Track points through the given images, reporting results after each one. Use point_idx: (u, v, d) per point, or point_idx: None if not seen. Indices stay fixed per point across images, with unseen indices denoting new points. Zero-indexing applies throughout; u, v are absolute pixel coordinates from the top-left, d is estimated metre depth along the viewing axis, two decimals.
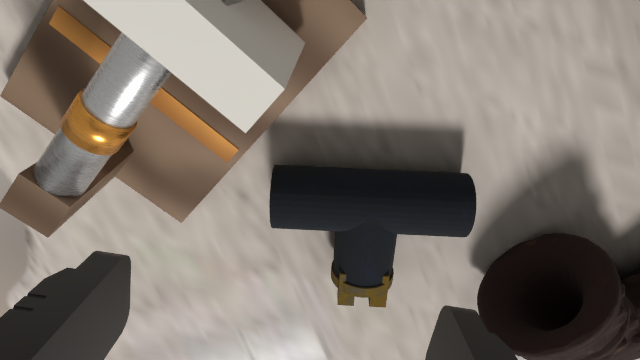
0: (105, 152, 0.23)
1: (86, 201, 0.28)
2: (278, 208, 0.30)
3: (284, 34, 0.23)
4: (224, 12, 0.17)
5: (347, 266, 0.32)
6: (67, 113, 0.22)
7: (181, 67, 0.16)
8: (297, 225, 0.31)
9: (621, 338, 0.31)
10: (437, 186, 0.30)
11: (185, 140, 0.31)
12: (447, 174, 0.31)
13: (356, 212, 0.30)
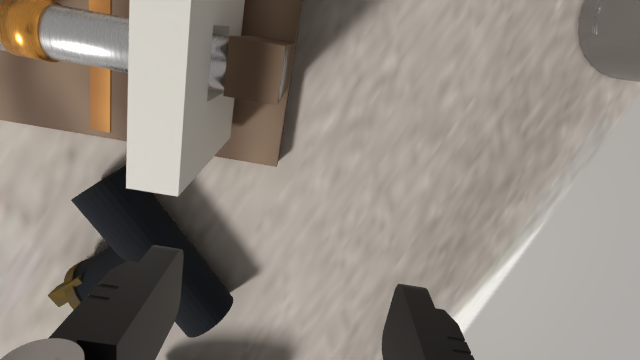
0: (12, 51, 0.22)
1: None
2: (93, 196, 0.30)
3: (222, 129, 0.28)
4: (200, 110, 0.21)
5: (90, 278, 0.33)
6: (20, 1, 0.21)
7: (136, 119, 0.18)
8: (91, 219, 0.31)
9: None
10: (208, 290, 0.35)
11: (80, 83, 0.31)
12: (222, 288, 0.36)
13: (141, 255, 0.32)
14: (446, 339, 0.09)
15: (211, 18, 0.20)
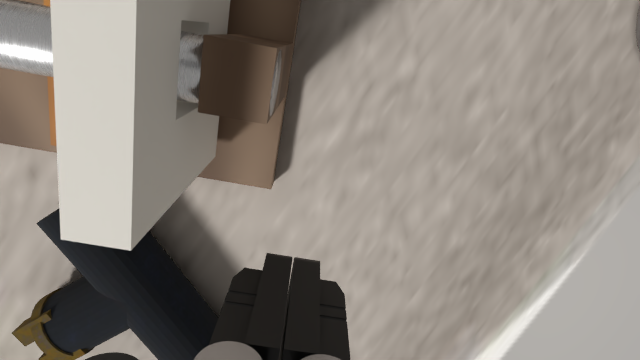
0: None
1: None
2: None
3: (203, 149, 0.23)
4: (164, 132, 0.16)
5: (60, 314, 0.28)
6: None
7: (69, 150, 0.13)
8: (61, 246, 0.26)
9: None
10: (200, 328, 0.29)
11: (37, 90, 0.26)
12: None
13: (120, 288, 0.27)
14: (317, 305, 0.09)
15: (177, 11, 0.15)
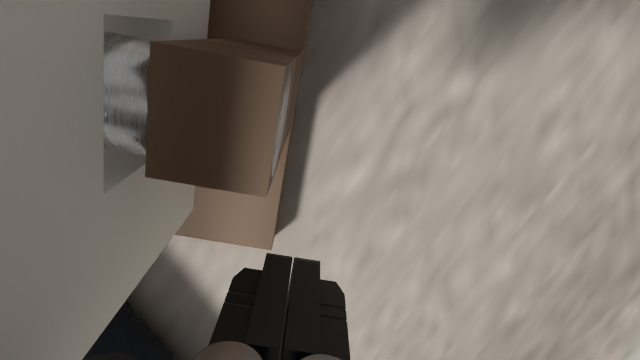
0: None
1: None
2: None
3: (170, 211, 0.15)
4: (73, 225, 0.09)
5: None
6: None
7: None
8: None
9: None
10: None
11: None
12: None
13: None
14: (317, 305, 0.09)
15: None
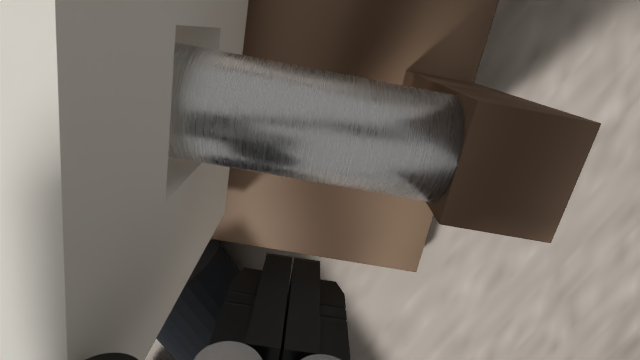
0: None
1: None
2: (172, 310, 0.18)
3: (209, 215, 0.15)
4: (144, 233, 0.09)
5: None
6: None
7: None
8: (166, 342, 0.19)
9: None
10: None
11: None
12: None
13: None
14: (317, 305, 0.09)
15: (168, 8, 0.08)
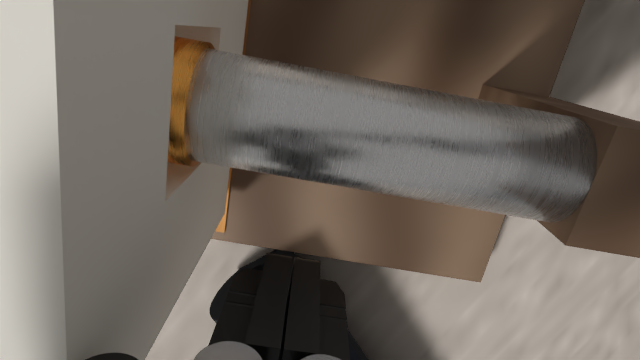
0: None
1: None
2: None
3: (209, 215, 0.15)
4: (143, 233, 0.09)
5: None
6: None
7: None
8: None
9: None
10: None
11: None
12: None
13: None
14: (317, 305, 0.09)
15: (167, 8, 0.08)
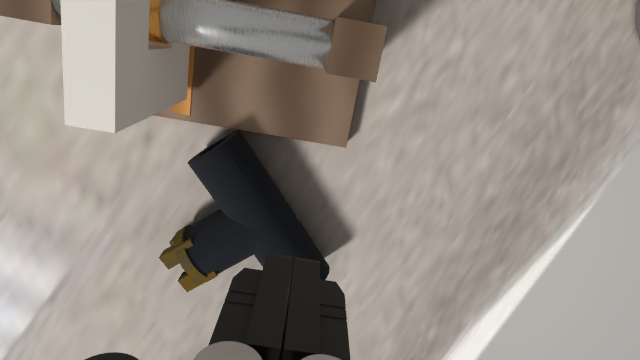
0: None
1: None
2: (214, 158, 0.32)
3: (174, 86, 0.29)
4: (139, 54, 0.22)
5: (201, 241, 0.34)
6: None
7: (71, 56, 0.20)
8: (209, 181, 0.32)
9: None
10: (311, 254, 0.36)
11: None
12: (320, 253, 0.37)
13: (255, 216, 0.33)
14: (317, 305, 0.09)
15: None
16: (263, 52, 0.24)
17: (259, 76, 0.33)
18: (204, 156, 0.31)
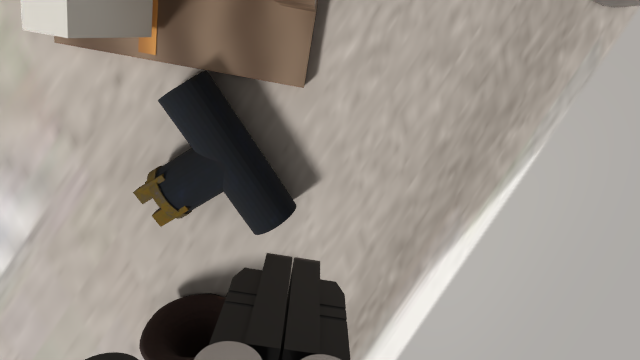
0: None
1: None
2: (181, 93, 0.34)
3: (135, 19, 0.31)
4: None
5: (172, 175, 0.37)
6: None
7: None
8: (178, 116, 0.35)
9: None
10: (276, 190, 0.38)
11: None
12: (286, 191, 0.40)
13: (221, 150, 0.35)
14: (317, 305, 0.09)
15: None
16: None
17: (220, 17, 0.35)
18: (172, 91, 0.34)
